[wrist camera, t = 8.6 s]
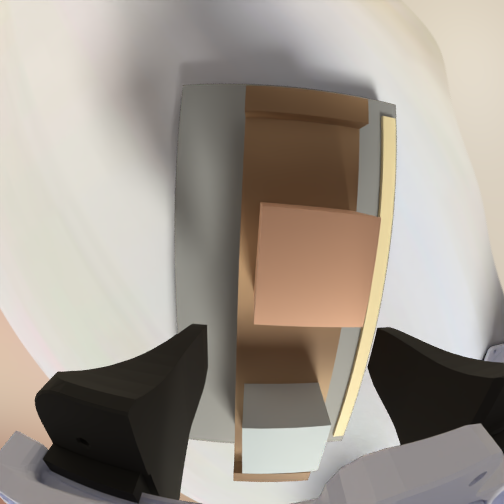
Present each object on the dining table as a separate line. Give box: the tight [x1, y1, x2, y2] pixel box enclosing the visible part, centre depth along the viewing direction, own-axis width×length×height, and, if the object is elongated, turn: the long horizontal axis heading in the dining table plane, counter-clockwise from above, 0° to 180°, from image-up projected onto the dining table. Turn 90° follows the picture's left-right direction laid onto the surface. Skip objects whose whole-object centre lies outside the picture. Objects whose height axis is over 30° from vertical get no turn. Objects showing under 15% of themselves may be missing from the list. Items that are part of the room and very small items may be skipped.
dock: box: [175, 84, 397, 443], centre depth 17 cm, size 12×24×2 cm, turn 177°
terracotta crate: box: [254, 202, 381, 327], centre depth 10 cm, size 4×4×3 cm
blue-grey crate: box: [242, 382, 331, 474], centre depth 11 cm, size 4×4×3 cm
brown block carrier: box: [234, 85, 369, 482], centre depth 13 cm, size 20×4×5 cm, turn 177°
